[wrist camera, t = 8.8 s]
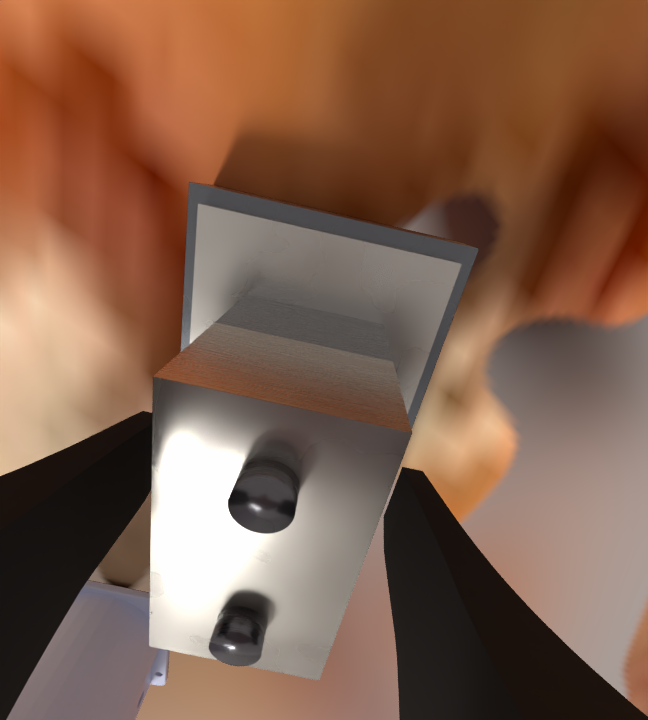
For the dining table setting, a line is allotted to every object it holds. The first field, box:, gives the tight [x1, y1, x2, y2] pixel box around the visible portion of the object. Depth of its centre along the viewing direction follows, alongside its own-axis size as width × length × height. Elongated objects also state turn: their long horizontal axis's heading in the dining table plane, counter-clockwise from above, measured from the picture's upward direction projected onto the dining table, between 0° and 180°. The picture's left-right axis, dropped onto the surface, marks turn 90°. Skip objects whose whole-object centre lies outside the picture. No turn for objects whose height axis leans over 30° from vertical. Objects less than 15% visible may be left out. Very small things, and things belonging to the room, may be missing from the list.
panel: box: [181, 182, 479, 429], centre depth 14 cm, size 14×9×2 cm, turn 168°
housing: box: [149, 294, 412, 680], centre depth 10 cm, size 8×4×7 cm, turn 168°
